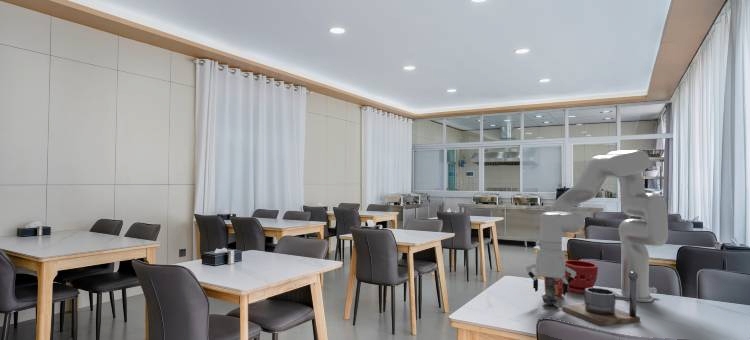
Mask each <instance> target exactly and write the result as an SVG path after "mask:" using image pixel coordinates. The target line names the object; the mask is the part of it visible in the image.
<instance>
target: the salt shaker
mask: <svg viewBox="0 0 750 340" xmlns="http://www.w3.org/2000/svg"><path fill="white" fill-rule="evenodd" d="M545 287H546V292H544V293H545V294H542V295H541V298H542V301H543V303H544V304H542V307H543V308H545V309H549V310H556V309H557V310H558V305H557V304H558V302H559V300H560V299H559V298H560V297H559V298H558V297H556V296H555V288H556V287H555V280H554V278H546V286H545V285H544V288H545Z"/></svg>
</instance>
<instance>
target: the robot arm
mask: <svg viewBox="0 0 750 340" xmlns="http://www.w3.org/2000/svg"><path fill="white" fill-rule="evenodd" d="M650 162H651V161H650V157H649V154H648V153H647V152H646V151H643V150H641V149H632V150H631V149H630V150H615V151H610V152H608V153H606V154H605V155H596V156H592V157H591V158H590V159H588V161H587V162H586V165H585V167H584V168H583V169H582V171H581V173H580V175H579V177H578V179H577V180H576V182H575V184H574V185H573V186H572V187H570V188H569V189H567V191H565V192H563V193H562V194H561V195H560V196H559V197H558V198H556V199H555V200H554V202H553V203H552V206H551V207H550V209H549V210H548V212H542V213H541V214H540V218H539V219H540V220H539V222H540V224H539V225H540V226H539V228H540V229H539V241H536V242H535V245H536V246H537V247H539V248H537V250H536V256H535V263H533V264H530V265H529V266H526V267H525V270H526V272H527V274H528V276H529V277H530V278H531V280H533V281H532V283H533V284H532V285H533V287H532V288H533V289H534V292H537V291H538V290H539V279H538V278H539V277H541V278H544V277H547V278H556V279H562V280H563V282H564V283H563V294H562V296H566V294H567V293H569V292H568V291H569V290H568V283H569V282H571V281H572V280H573V278H574V277H575V275H576V272H575V271H573V270H571V269H570V268H568V267H566V266H565V261H566V256H565V255H566V254H565V252H564V250H563V233H570V234H574V233H579V232H580V231H582V230H583V229H584V228H585V224H586V223H585V219H584V218H583V216H582V215H581V214H579V213H576V212H572V211H571V209H572V208H574V207H576V206H577V205H579V204H582V203H584V202H588V201H590V200H593V199H595V198H596V197H597V195H598V193H599V192H600V190H601V188H602V186H603V184H604V183H605V181H606V179H607V178H617V179H618V182H619V190H620V191H619V192H620V202H621V203H620V204H621V205H620V206H621V210H622V212H623V213H624V214H625V215H627V216H630V217H631V216H632V217H641V218H645V219H638V218H628V219H624V220H623V221H621V223H620V224H619V226H618V236H619V240H620V248H621V249H620V250H621V255H620V256H621V260H620V261H621V263H620V265H621V266H620V269H621V271H620V290H619V291H616V295H618V296H626V297H630V279H629V277H628V273H629V272H631V271H634V272H636V273H637V274H638V279H637V287H636V303H637V302H640V303H649V302H650V303H651V302H653V301H654V297H653V296H652V295H651V294H653V293H654V294H655V293H657V291H658V289H657V288H656V287H651V286H649V285H650V284H649V283H650V281H649V280H650V279H649V277H650V275H649V274H650V269H649V267H650V256H649V255H650V254H649V251H648V249H647V247H646V246H652V247H662V246H664V245H665V244H666V243H667V242H668V238H669V220H668V208H667V204H666V203H667V202H666V201H665V199H664V197H663V196H662V195H660V194H659V193H655V192H653V193H652V192H646V189H645V188H646V187H645V181H644V177H643V175H642V173H643V172H644V171H646V170H647V169H648V167H649V165H650ZM570 211H571V212H570ZM534 268H535V274H534V273H533V271H532V269H534ZM566 271H567V272H569V273H571V276H570V277H569V278H568V279H567V278H566V277H565V273H566Z"/></svg>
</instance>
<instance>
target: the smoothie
mask: <svg viewBox="0 0 750 340" xmlns="http://www.w3.org/2000/svg"><path fill="white" fill-rule="evenodd" d="M565 264H566V263H565ZM543 278H544V279H543V281H544V293H546V287H545V286H546V278H547V277H543ZM554 280H555V287H556V288H555V296H556V297H558V298H562V297H563V283H564V282H563V280H562V279H556V278H554Z"/></svg>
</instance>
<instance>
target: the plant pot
mask: <svg viewBox="0 0 750 340" xmlns="http://www.w3.org/2000/svg"><path fill="white" fill-rule="evenodd" d="M565 263H566V264H565V266H566V267H568V268H570V269H571V270H573V271H575V272H576V275H575V277H574V278H573V280H572V281H571V282H569V283H568V291H569V292H571V293H574V294H575V293H576V294H580V295H581V294H582V295H585V289H586V288H595V287H594V286H595V284H596V282H597V278H598V270H599V268H598V267H599V266H598V265H597V264H595V263H593V262H590V261H585V260H576V259H570V260H568V259H567V260H565ZM570 276H571V273H569V272H567V271H566V273H565V277H566V278H567V279H568V278H569V277H570Z"/></svg>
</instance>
